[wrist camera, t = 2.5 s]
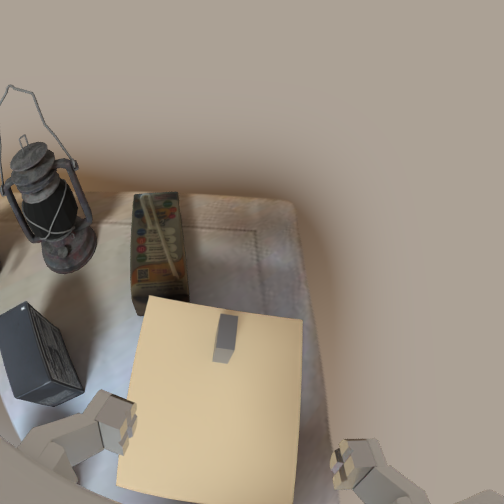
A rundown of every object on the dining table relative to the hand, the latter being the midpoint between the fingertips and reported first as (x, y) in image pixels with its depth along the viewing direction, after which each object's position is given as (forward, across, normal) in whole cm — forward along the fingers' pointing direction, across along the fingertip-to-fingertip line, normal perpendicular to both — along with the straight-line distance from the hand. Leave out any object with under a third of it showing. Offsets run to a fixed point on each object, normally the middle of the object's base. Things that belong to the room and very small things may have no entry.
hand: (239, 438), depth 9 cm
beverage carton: (+35, +14, +6) cm, 38 cm away
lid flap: (+13, +1, +12) cm, 17 cm away
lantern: (+32, +31, +7) cm, 45 cm away
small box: (+18, +24, +20) cm, 36 cm away
